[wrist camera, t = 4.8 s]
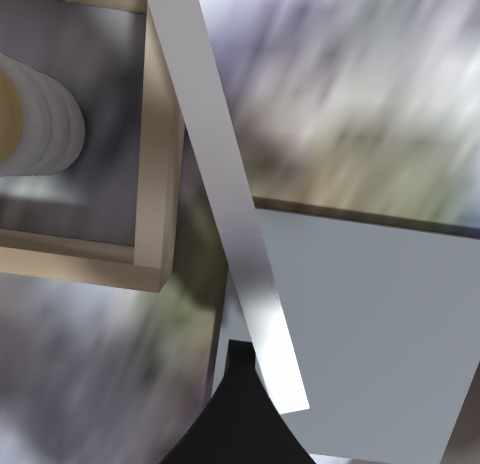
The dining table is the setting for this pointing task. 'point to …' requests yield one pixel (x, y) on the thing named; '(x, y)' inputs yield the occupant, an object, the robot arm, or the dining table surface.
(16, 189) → the dining table surface
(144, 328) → the dining table surface
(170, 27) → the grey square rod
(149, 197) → the square wooden frame
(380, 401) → the gray square panel
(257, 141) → the dining table surface
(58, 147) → the light bulb
